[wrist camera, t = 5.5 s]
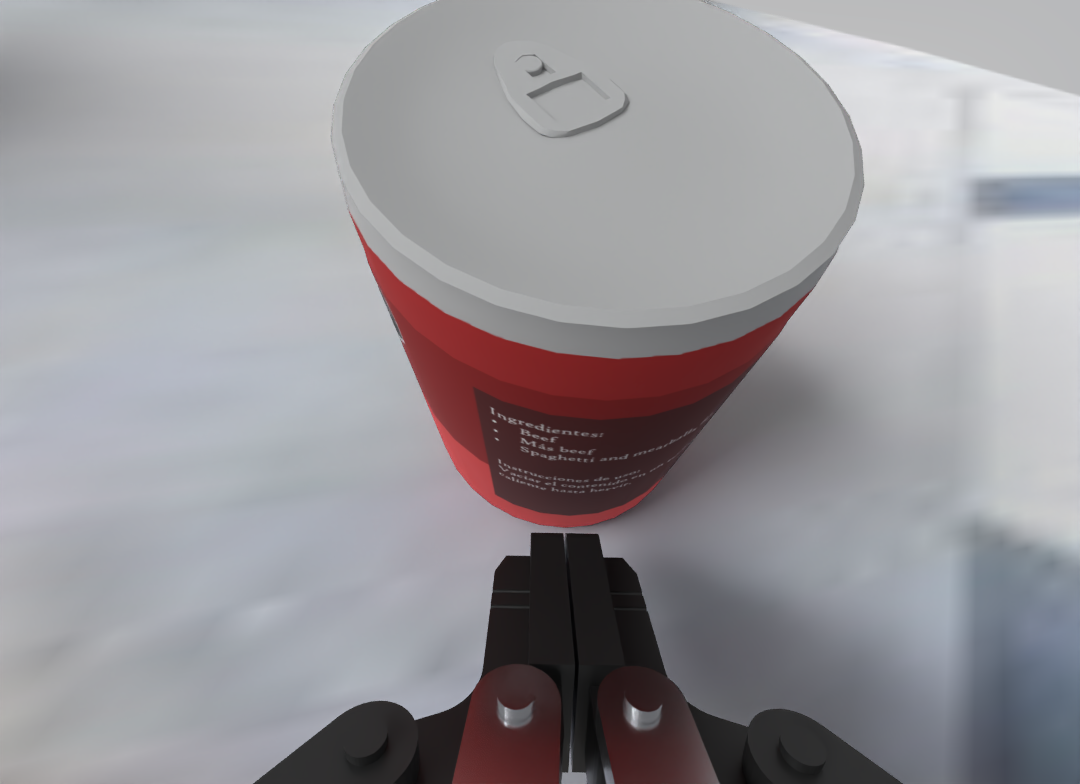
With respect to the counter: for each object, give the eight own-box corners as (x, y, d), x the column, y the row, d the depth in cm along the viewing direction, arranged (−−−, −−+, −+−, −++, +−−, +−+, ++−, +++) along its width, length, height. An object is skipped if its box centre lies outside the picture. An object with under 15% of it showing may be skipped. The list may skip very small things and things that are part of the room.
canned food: (537, 289, 20) (547, -71, 10) (714, 407, 17) (956, 95, 8) (392, 427, 17) (201, 114, 7) (581, 589, 14) (692, 465, 5)
